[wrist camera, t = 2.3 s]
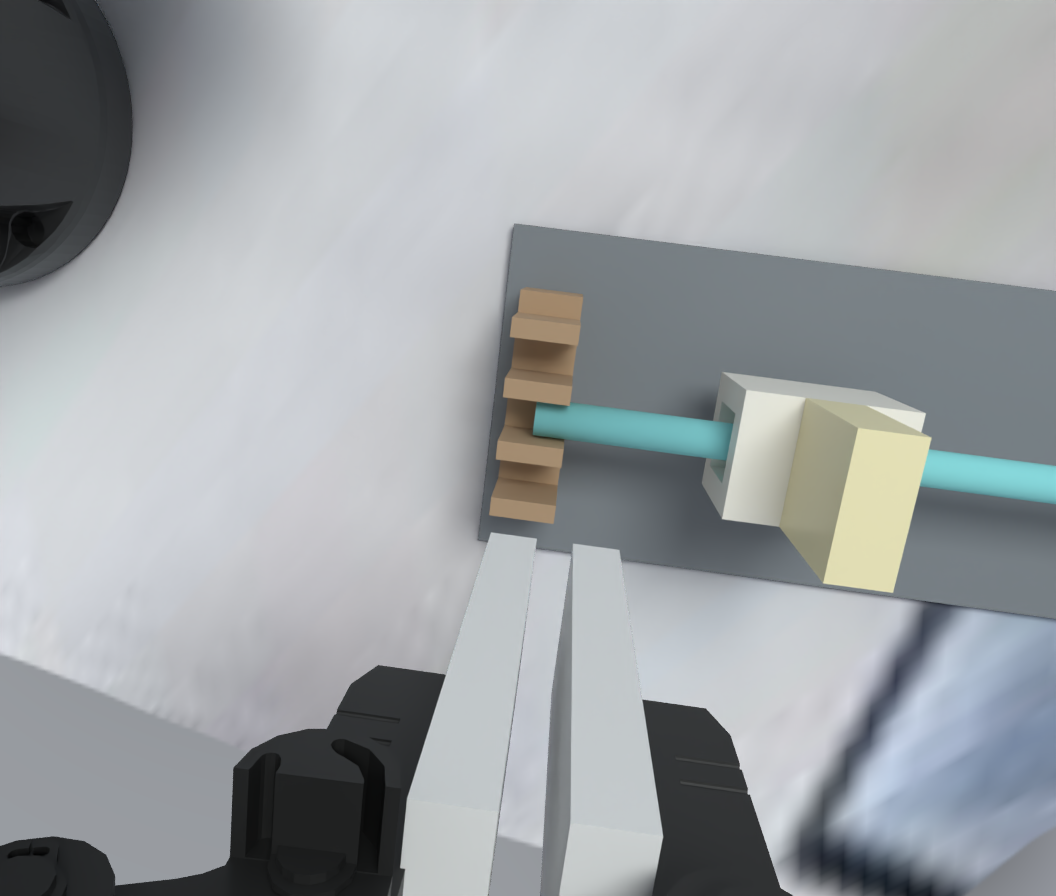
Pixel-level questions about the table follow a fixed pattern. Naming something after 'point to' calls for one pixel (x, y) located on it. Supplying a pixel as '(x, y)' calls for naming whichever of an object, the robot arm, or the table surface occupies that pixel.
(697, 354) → the cord rig
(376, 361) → the table surface
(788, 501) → the sliding rod collar
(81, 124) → the robot arm
